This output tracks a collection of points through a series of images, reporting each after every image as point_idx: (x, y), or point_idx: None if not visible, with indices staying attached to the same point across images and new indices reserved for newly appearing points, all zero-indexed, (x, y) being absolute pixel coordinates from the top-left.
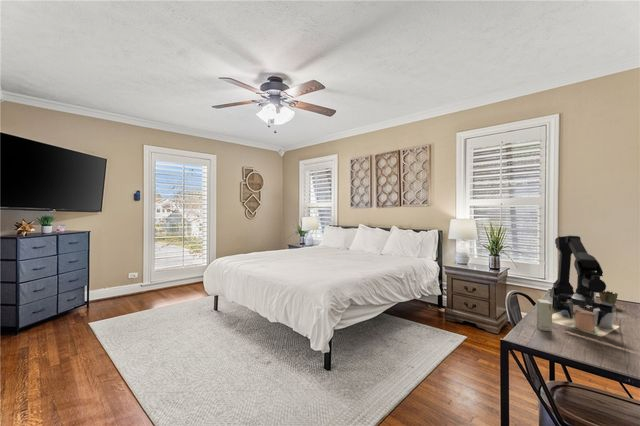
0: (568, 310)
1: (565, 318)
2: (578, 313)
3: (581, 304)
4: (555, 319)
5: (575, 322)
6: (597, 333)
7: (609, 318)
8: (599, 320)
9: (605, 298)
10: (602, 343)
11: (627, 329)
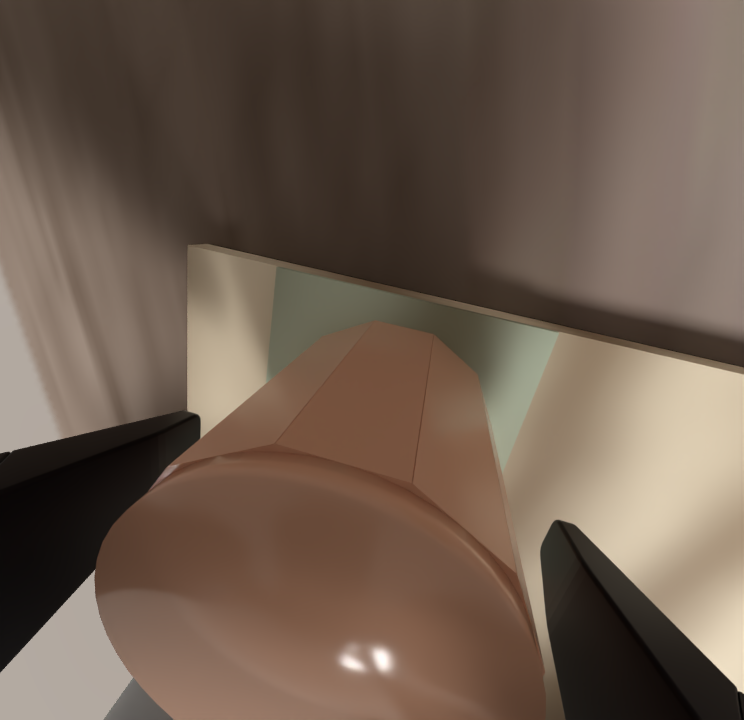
0: (732, 704)
1: None
2: (441, 520)
3: None
4: (729, 559)
5: (485, 411)
6: (247, 339)
7: (125, 695)
8: (72, 441)
9: None
10: (163, 49)
11: None
